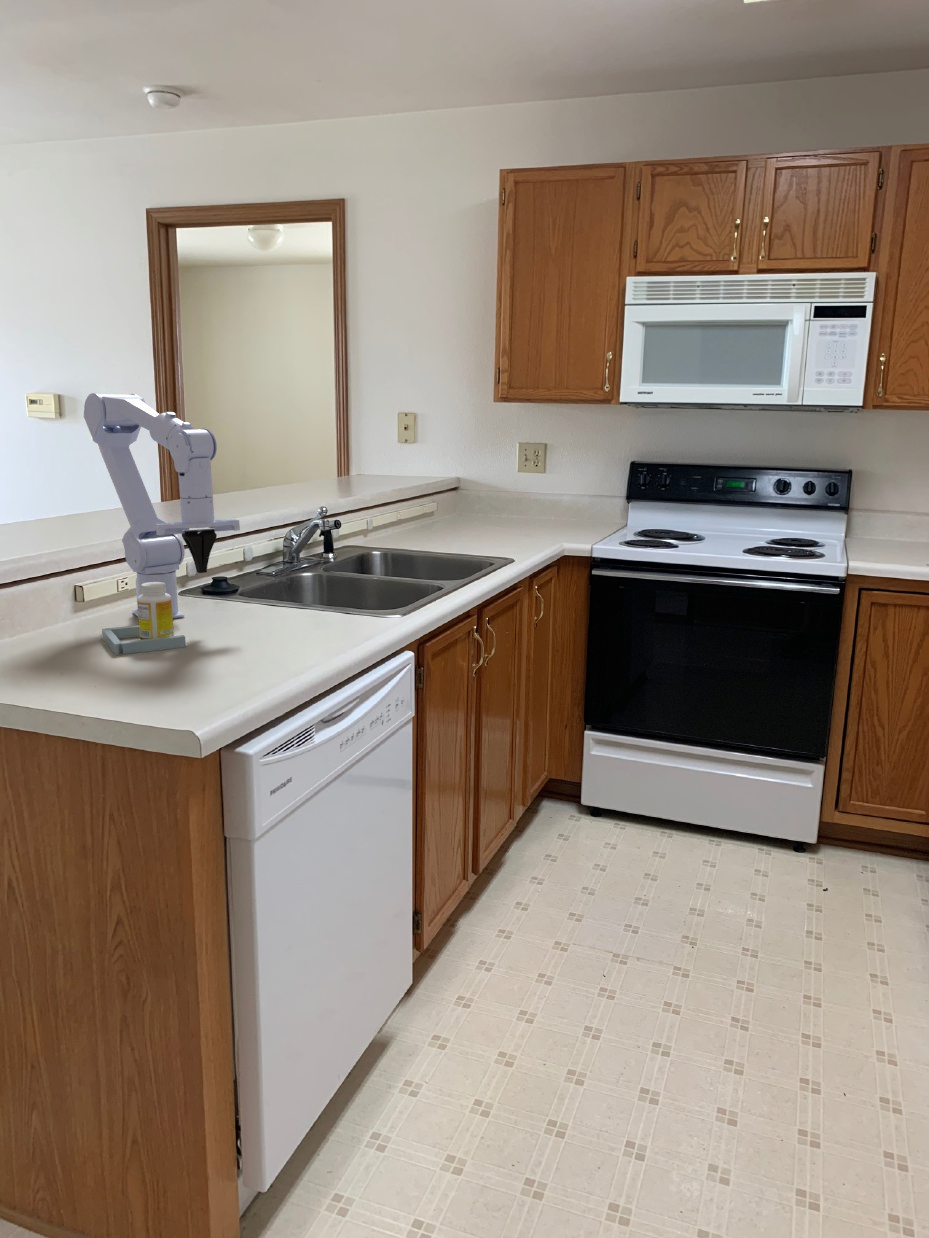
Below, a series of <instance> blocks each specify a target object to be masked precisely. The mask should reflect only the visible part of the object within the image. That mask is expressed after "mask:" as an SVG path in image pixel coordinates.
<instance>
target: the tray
mask: <svg viewBox="0 0 929 1238" xmlns="http://www.w3.org/2000/svg"><path fill="white" fill-rule="evenodd" d="M101 634H102V640H103V641H104V642H105V644H106V645H107V646H108V648H109V649H110V650H111V651H112V653H113V654H114V655H115V656H118V655H120V656H121V655H127V654H135V653H144V652H145V653H146V652H154V651H160V650H162V651H163V650H169V649H178V648H186V646H187V645H186V644H187V642H186V641H187V640H186V636H185V635H183V634H182V635H174V636H171V637H162V638H152V639H143V640H140V639H137V640H135V639H134V640H126V641H121V639H128V638H138V637H139V638H140V628H139V624H138V625H137V624H136V625H126V626H116V627H106V628H102V629H101Z"/></svg>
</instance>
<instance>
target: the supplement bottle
mask: <svg viewBox="0 0 929 1238" xmlns="http://www.w3.org/2000/svg"><path fill="white" fill-rule="evenodd" d="M141 591H142V595H140V596H139V597H138V598H137V597H136V604H137V603H138V608H137V609H138V616H139V617H138V625H139V628H140V636H139V640H143V639H152V638H162V637H171V636H175V635H174V632H175V631H174V618H173V617H172V603H171V596H170V595H169V594H167V593H165V592H166V585H165V583H163V582H148V583H143V584H142V585H141Z"/></svg>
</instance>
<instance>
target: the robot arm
mask: <svg viewBox="0 0 929 1238" xmlns="http://www.w3.org/2000/svg"><path fill="white" fill-rule="evenodd" d="M83 405H84V406H83V418H84V420H85V423H86V426H87V428H88V431H89V433H90V436H91V438H92V441H93V442H94V443H95V444H97V445H98V449H99V452H100V454H101V456H102V460H103V462H104V464H105V466H106V469H107V471H108V474H109V476H110V479H111V481H112V484H113V486H114V489H115V492H116V494H117V496H118V499H119V501H120V502H119V503H120V504H121V507H122V509H123V511H124V514H125V516H126V519H127V522H128V524H129V526H130V527H129V528H128V529H127V531H126V532H125V533H124V534H123V537H122V538H121V541H122V545H123V548H124V556H125V557H124V558H125V561H126V563H127V565H128V566H129V568H130V569H131V570H132V572H133V573H136V578H135V591H136V592H135V593H136V599H137V598H138V597H139V596H140V595H142V591H141V585H142V584H143V583H148V582H163V583H165V585H166V592H165V593H167V594H169V595H170V596H171V603H172V617H173V619H176V618H184V617H185V614H184V613H183V612H181V611H180V610H179V602H178V601H179V600H178V587H177V586H178V584H177V571H178V570H180V565H181V564H183V562H184V558H185V554H186V551H185V545H184V543H185V544H186V546H187V548H188V550H189V552H190V554H191V557H192V560H193V563H194V567H195V571H196V573H197V574H205V573H208V566H209V564H208V563H209V559H210V555H211V552H212V548H213V547H214V544H215V542H216V540H217V536H218V535H217V534H218V533H216V532H225V531H226V532H227V531H234V532H235V531H240V530H241V528H240V520H239V519H238V518H233V519H232V518H231V519H215V509H214V508H215V507H214V506H215V505H214V492H213V491H214V490H213V477H212V463H211V462H212V461H213V460H214V458H215V456H216V455H217V450H218V449H217V448H218V447H217V445H218V444H217V439H216V437H215V435H214V433H212V431H210V430H209V428H206V427H204V428H203V427H202V428H199V429H196V428H195V427H193V426H192V424H191V423H190V422H184V421H183V420H181V419H180V418H178V417H177V414H176V413H175V412H173V411H166V412H162V413H158V412H157V411H156V410H154V409H153V408H152V407H150V406H149V405H148V404H146V402H145V399H144V398H143V397H142V396H139V395H137V394H135V393H131V394H116V393H115V394H110V393H109V394H107V393H97V392H91V393H89V394H88V396H86V398H85V402H84V404H83ZM142 428H144V429H145V430H146V431H149V435H150V437H151V440H153V441H154V442H156V443H157V444H159V445H161V446H162V447H164V448H165V449H167V450H168V451H169V453H170V456H171V459H173V460H172V461H173V464H174V465H173V466H174V469H175V472H176V473H177V474H178V475H177V477H178V490H179V500H180V501H179V502H180V515H181V521H173V522H166V521H164V520H162V519H160V518H159V517H158V515H157V513H156V510H155V508H154V505H153V502H152V500H151V498H150V495H149V492H148V491H147V489H146V486H145V484H144V481H143V478H142V477H141V474H140V471H139V469H138V467H137V464H136V462H135V459H134V456H133V454H132V451H131V450H130V445H131V444H133V443H135V442H136V441H137V439H138V436H139V434H140V432H141V429H142ZM178 535H181V537H182V539H181V538H180V537H179V536H178ZM182 540H183V541H182ZM136 605H137V608H135V609H132V610H131V611H132V613H133V614H134V615H135V616H137V618H139V616H138V603H137V602H136Z"/></svg>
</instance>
